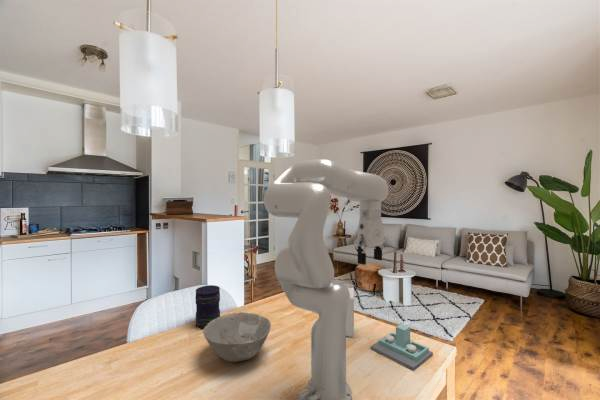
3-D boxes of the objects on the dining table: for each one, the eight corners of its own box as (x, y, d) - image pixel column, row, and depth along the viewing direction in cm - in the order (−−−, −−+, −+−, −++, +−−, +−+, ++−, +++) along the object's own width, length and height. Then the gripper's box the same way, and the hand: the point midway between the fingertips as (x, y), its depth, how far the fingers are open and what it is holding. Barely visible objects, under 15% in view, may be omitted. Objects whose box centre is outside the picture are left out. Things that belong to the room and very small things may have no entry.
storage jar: (224, 319, 122) (223, 285, 121) (213, 330, 112) (213, 293, 112) (202, 318, 123) (202, 284, 123) (190, 328, 113) (190, 292, 113)
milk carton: (353, 337, 106) (353, 288, 106) (335, 335, 108) (335, 286, 107) (353, 328, 113) (353, 282, 113) (336, 326, 115) (336, 281, 114)
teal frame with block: (416, 361, 89) (416, 338, 89) (378, 343, 100) (378, 323, 100) (428, 351, 94) (428, 330, 94) (391, 335, 105) (391, 316, 105)
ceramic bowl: (246, 385, 80) (246, 350, 80) (188, 364, 89) (187, 334, 89) (283, 346, 100) (283, 319, 100) (232, 333, 109) (231, 308, 109)
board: (413, 370, 86) (413, 358, 86) (370, 348, 98) (370, 338, 98) (432, 355, 94) (432, 344, 94) (390, 336, 106) (390, 327, 106)
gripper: (363, 216, 92) (363, 268, 92) (392, 214, 103) (392, 260, 103) (346, 215, 98) (346, 263, 98) (375, 213, 109) (375, 256, 109)
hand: (370, 261), depth 101 cm, fingers open, 9 cm apart
